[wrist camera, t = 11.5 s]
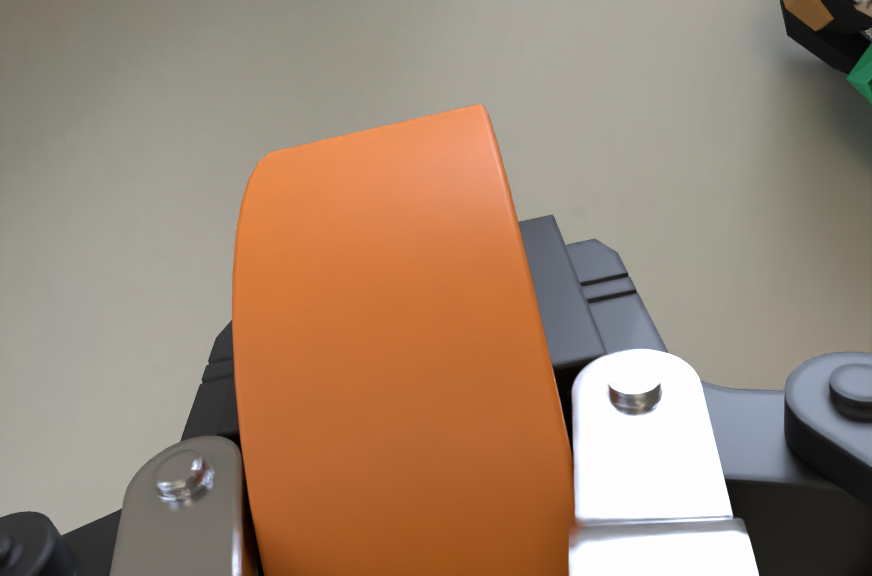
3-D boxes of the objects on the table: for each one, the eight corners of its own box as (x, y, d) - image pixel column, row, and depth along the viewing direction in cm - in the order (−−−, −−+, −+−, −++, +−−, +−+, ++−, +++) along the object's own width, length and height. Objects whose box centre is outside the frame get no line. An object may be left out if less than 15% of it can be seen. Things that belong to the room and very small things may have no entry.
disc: (367, 249, 17) (185, 21, 8) (498, 220, 17) (459, -47, 8) (441, 682, 15) (307, 1010, 6) (593, 657, 15) (685, 958, 6)
